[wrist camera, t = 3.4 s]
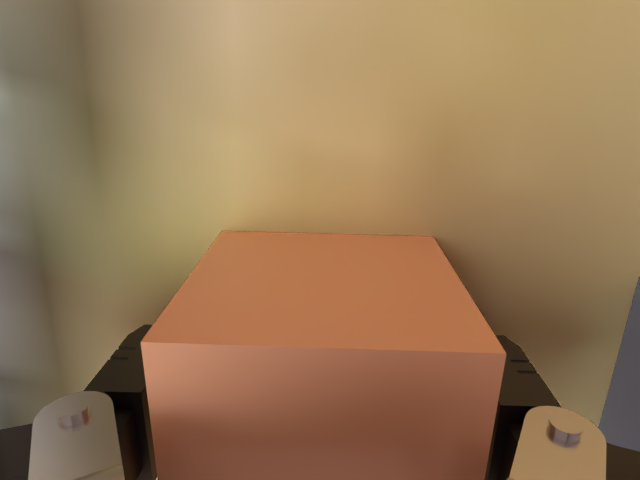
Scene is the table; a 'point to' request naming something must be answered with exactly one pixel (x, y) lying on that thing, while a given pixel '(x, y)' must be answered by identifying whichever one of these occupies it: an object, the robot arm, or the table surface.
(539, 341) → the table surface
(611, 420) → the blue block
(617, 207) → the table surface
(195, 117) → the table surface
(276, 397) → the terracotta block
